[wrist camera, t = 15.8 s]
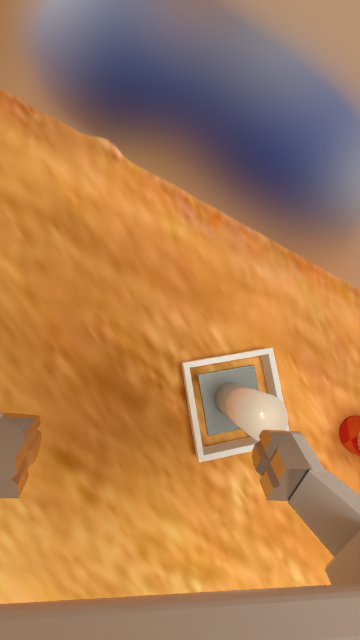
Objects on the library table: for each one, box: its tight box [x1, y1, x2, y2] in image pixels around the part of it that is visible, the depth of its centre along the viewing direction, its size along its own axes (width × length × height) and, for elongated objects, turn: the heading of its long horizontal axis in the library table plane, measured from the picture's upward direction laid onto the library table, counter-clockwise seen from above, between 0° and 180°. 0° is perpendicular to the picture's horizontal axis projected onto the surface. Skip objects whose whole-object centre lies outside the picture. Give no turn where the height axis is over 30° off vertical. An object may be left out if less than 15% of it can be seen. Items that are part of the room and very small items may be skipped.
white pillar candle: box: [215, 383, 288, 441], centre depth 34 cm, size 5×5×12 cm
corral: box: [181, 348, 289, 463], centre depth 38 cm, size 14×14×3 cm
